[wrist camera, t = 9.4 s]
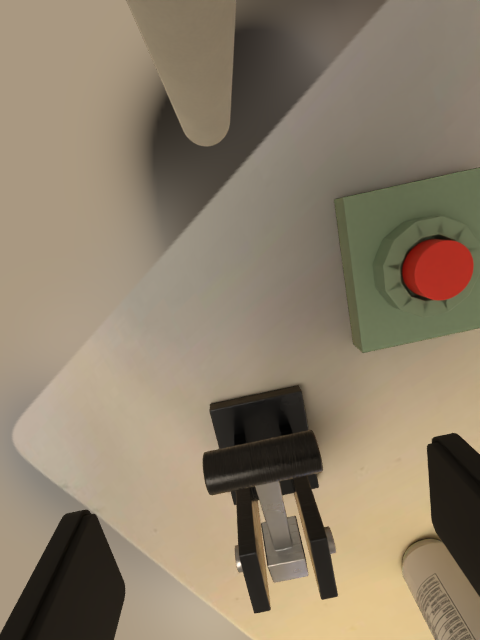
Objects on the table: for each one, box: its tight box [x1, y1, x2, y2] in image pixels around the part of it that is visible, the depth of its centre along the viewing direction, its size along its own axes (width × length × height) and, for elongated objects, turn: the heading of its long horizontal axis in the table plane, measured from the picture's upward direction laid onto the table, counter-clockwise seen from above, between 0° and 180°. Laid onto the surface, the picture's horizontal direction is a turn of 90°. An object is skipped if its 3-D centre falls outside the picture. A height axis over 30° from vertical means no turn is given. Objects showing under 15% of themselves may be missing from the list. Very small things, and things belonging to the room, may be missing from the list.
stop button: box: [402, 239, 474, 300], centre depth 24 cm, size 4×4×2 cm
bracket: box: [210, 386, 338, 613], centre depth 26 cm, size 10×8×13 cm
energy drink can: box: [402, 539, 480, 640], centre depth 29 cm, size 6×6×15 cm
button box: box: [334, 167, 480, 353], centre depth 27 cm, size 12×10×4 cm
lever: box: [203, 430, 323, 583], centre depth 19 cm, size 12×5×2 cm, turn 13°
